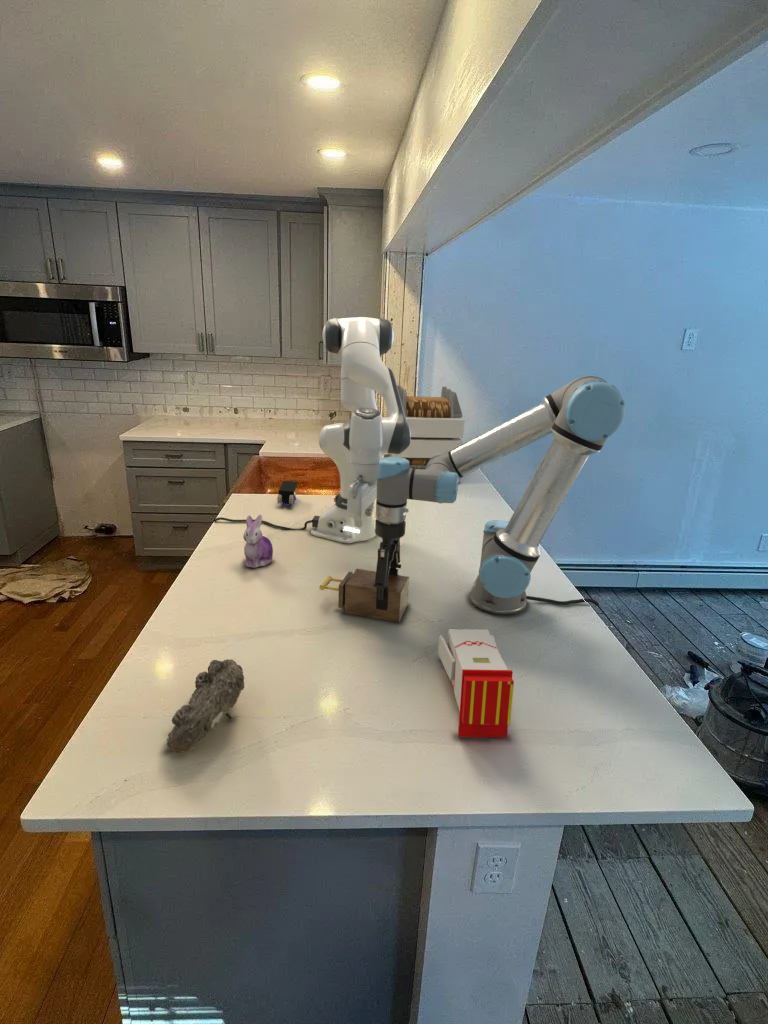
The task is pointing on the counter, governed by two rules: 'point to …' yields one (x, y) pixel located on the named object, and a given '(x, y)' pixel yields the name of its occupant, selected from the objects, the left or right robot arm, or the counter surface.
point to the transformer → (431, 426)
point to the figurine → (256, 544)
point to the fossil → (206, 705)
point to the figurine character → (287, 493)
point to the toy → (478, 682)
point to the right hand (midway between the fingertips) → (386, 599)
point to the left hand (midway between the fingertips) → (363, 520)
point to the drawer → (341, 588)
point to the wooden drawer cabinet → (364, 596)
